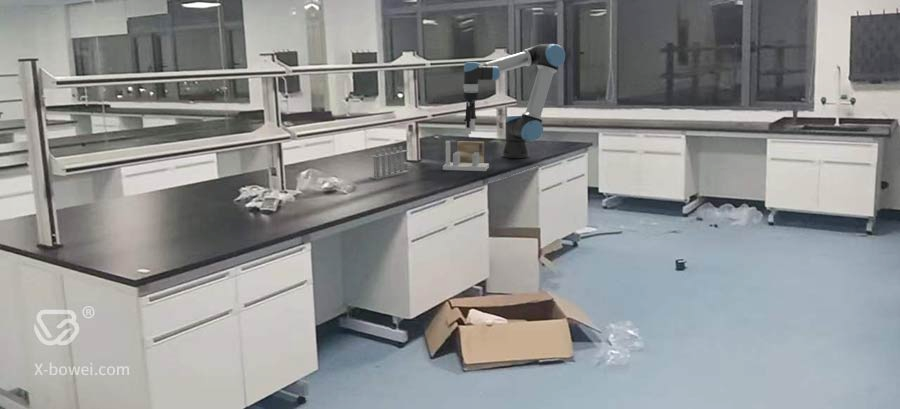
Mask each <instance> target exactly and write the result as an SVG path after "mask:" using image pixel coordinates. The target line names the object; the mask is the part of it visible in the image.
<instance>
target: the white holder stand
mask: <svg viewBox="0 0 900 409" xmlns="http://www.w3.org/2000/svg"><path fill="white" fill-rule="evenodd" d="M489 168H490V163H485V162H484V163H479V153H478V152H474V154H472V163H460V152H457V151H454V153H453V154H452V162H451V140H446V141H445V163H444V165H442V170H443V171H463V172H464V171H470V172H472V171H473V172H486V171H487V170H488V169H489Z"/></svg>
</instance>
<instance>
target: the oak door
mask: <svg viewBox="0 0 900 409" xmlns="http://www.w3.org/2000/svg"><path fill="white" fill-rule="evenodd" d="M456 144H457V147H456V148H457V151H456V152H460V163H472V154H474V152H478V153H479V163H485V142H484V141H470V140H469V141H467V140H465V141H464V140H463V141H462V140H461V141H460V140H459V141H457V143H456Z"/></svg>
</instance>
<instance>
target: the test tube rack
mask: <svg viewBox="0 0 900 409" xmlns="http://www.w3.org/2000/svg"><path fill="white" fill-rule="evenodd" d="M392 150H393V151H392ZM407 152H409V150H408V149H403V146H398V147H393V148H392V149H391V148H387V152H386V149H381V153H380V150H375V154H373V155H368V156H369V157H370V158H373V176H369V180H380V179H385V178H389V177H394V176H398V175H402V174H406V173H409V172H410V171H409V170H406V169H405V153H407ZM392 155H393V156H392ZM386 156H387V173H386ZM380 157H381V164H380ZM392 157H393V158H392ZM392 160H393V163H392ZM392 164H393V166H392ZM380 165H381V166H380ZM380 167H381V168H380ZM392 167H393V171H392ZM398 168H399V170H398ZM380 169H381V170H380ZM380 173H381V174H380Z"/></svg>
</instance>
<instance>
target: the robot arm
mask: <svg viewBox="0 0 900 409" xmlns="http://www.w3.org/2000/svg"><path fill="white" fill-rule="evenodd" d="M565 60H566V52H565V50H564V48H563V47H562V46H561V45H559V44H555V43H540V44H537V45H533V46H531V47H528V48H525V49H523V50H522V52H517V53H514V54H510V55H508V56H504V57H500V58H497V59H493V60H490V61H487V62H483V63H479V62H476V61H475V62H474V61H468V62H465V63H464V64H463V65H464V66H463V85H462V88H463V100H464V101H466V104H465V105H466V107H465V118H464V120H463V121H464V122H465V135H471V134H472V132H475V130H476V119H477V116H476V101H477V100H478V99H479V93H478V92H479V81H492V82H493V81H497V80H498V79H499V78H500V75H501V73H504V72H508V71H511V70H514V69H518V68H521V67H525V66H526V67H531V66H536V68H537V73H536V76H535V80H534V82H533V83H534V84H533V86H532V90H531V94H530V96H529V99H528V103H527V106H526V110H525V112H523V113H522V114H521V115H512V116H511V115H510V116H509V115H508V116H506V118H505V142H504V146H503V149H502V153H501V154H502V155H501V157H503V158H507V159H523V158H524V159H525V158H530V157H529V156H530V152H529V148H528V146H527V142H536V141H537V140H539V139H540V138H541V137H542V135H543V133H544V127H543V118H542V113H543V110H544V107H545V104H546V100H547V97H548V93H549V91H550V87H551V83H552V80H553V77H554V74H555V73H558V70H559V67H560V66H561V65H563V64H564V62H565Z"/></svg>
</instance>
